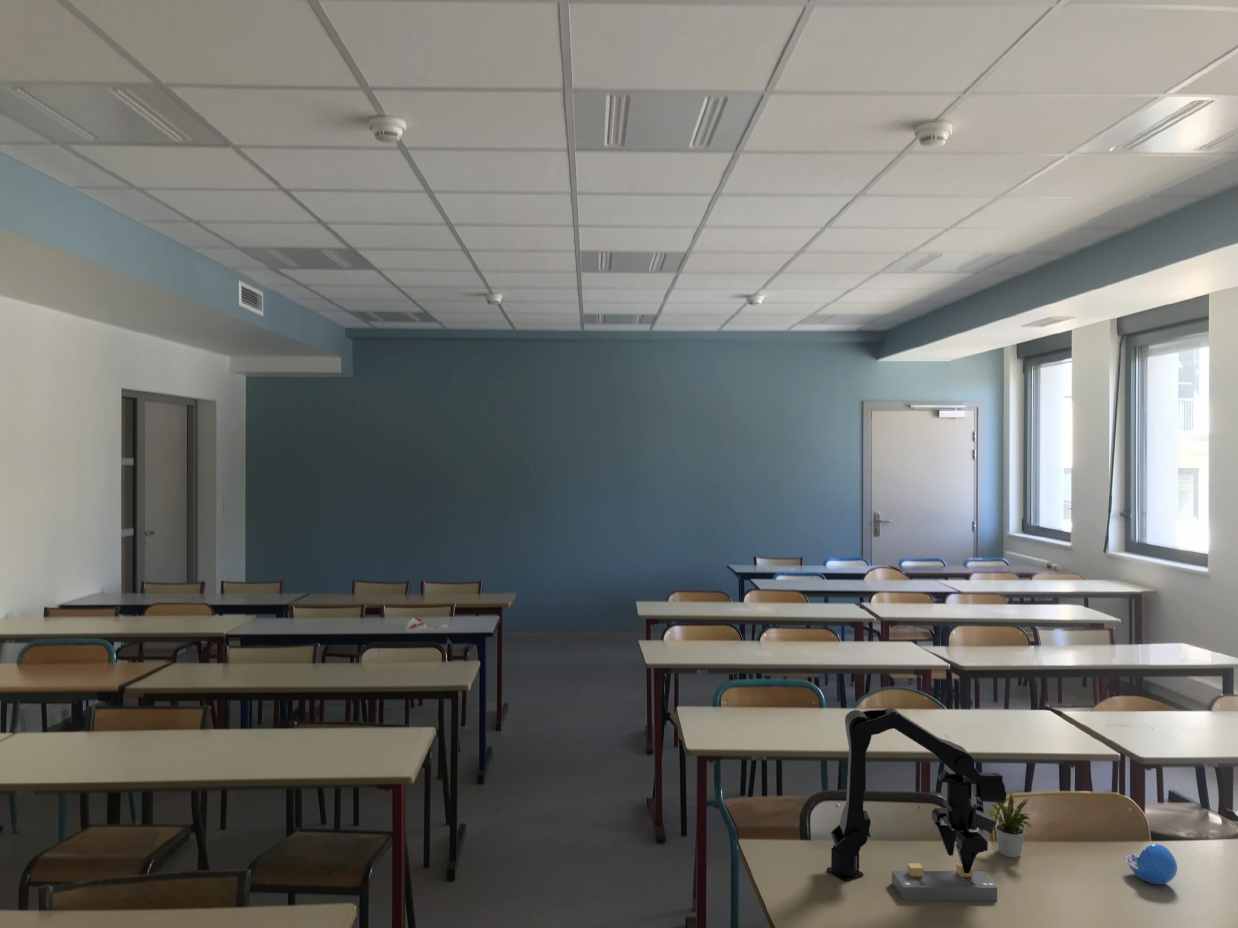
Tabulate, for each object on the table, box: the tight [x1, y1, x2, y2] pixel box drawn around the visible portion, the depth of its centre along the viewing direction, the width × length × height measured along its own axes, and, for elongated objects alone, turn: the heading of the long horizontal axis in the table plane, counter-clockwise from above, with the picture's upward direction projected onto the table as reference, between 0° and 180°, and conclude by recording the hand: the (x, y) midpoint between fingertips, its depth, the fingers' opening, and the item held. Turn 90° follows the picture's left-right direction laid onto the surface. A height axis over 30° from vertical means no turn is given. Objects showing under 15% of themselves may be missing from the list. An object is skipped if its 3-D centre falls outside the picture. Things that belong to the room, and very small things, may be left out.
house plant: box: [985, 790, 1033, 858], centre depth 214 cm, size 14×14×16 cm
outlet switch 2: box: [955, 863, 974, 877], centre depth 195 cm, size 3×2×2 cm
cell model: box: [1123, 843, 1178, 885], centre depth 200 cm, size 10×12×10 cm
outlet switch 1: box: [906, 862, 924, 877], centre depth 195 cm, size 3×2×2 cm
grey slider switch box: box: [891, 870, 998, 902], centre depth 193 cm, size 22×8×3 cm, turn 91°
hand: (958, 863), depth 198 cm, fingers open, 9 cm apart
